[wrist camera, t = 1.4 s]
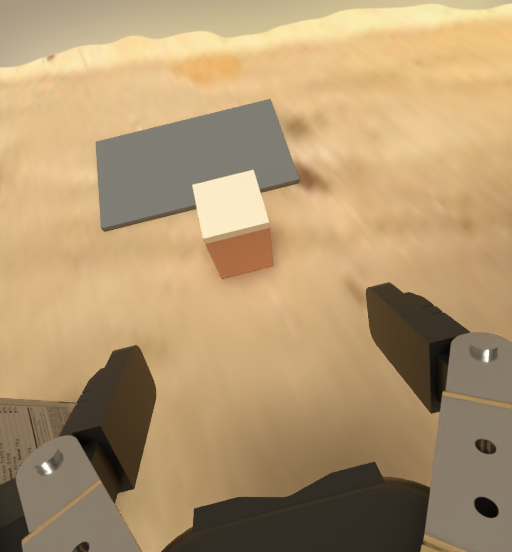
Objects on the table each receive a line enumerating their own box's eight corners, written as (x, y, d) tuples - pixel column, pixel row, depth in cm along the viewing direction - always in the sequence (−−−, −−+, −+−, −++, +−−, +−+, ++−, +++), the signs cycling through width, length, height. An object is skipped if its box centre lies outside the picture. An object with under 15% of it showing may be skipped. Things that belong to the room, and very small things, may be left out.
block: (260, 222, 34) (253, 169, 27) (272, 266, 32) (269, 222, 25) (212, 234, 34) (192, 184, 26) (222, 278, 32) (202, 238, 25)
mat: (270, 103, 40) (270, 98, 39) (298, 182, 35) (299, 179, 35) (98, 145, 40) (95, 141, 39) (104, 231, 35) (101, 228, 34)
